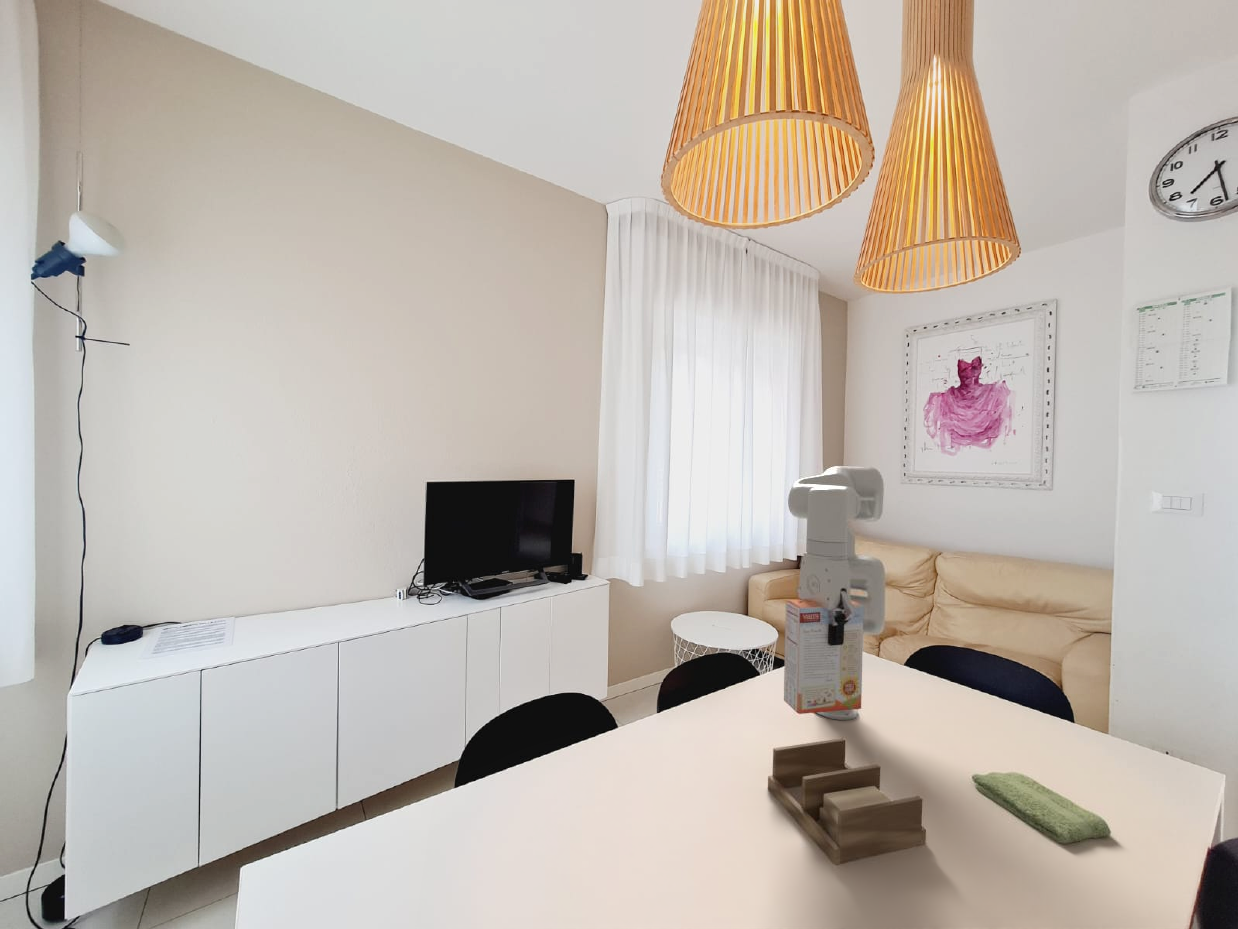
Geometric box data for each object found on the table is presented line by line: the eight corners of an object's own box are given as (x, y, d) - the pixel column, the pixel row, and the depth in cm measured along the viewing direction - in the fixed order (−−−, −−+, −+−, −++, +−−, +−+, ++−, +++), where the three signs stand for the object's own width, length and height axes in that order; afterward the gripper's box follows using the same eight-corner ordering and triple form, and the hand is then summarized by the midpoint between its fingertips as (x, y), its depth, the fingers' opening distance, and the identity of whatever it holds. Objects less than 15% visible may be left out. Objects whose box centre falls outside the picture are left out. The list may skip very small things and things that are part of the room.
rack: (767, 788, 97) (769, 749, 97) (845, 775, 103) (846, 737, 103) (834, 865, 79) (836, 816, 79) (925, 843, 84) (927, 798, 84)
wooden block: (818, 823, 89) (819, 790, 89) (876, 817, 91) (877, 785, 91) (840, 851, 82) (841, 816, 82) (902, 844, 84) (903, 810, 84)
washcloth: (1014, 778, 104) (1015, 763, 104) (1115, 840, 87) (1116, 822, 87) (966, 785, 101) (967, 770, 101) (1061, 851, 84) (1062, 833, 84)
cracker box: (842, 695, 101) (846, 596, 101) (862, 710, 95) (866, 605, 95) (781, 699, 98) (784, 597, 98) (797, 715, 93) (801, 607, 92)
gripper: (783, 542, 104) (780, 625, 104) (842, 558, 87) (839, 657, 87) (812, 541, 106) (810, 622, 106) (875, 557, 89) (872, 653, 90)
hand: (823, 637), depth 97 cm, fingers closed on cracker box, 6 cm apart
